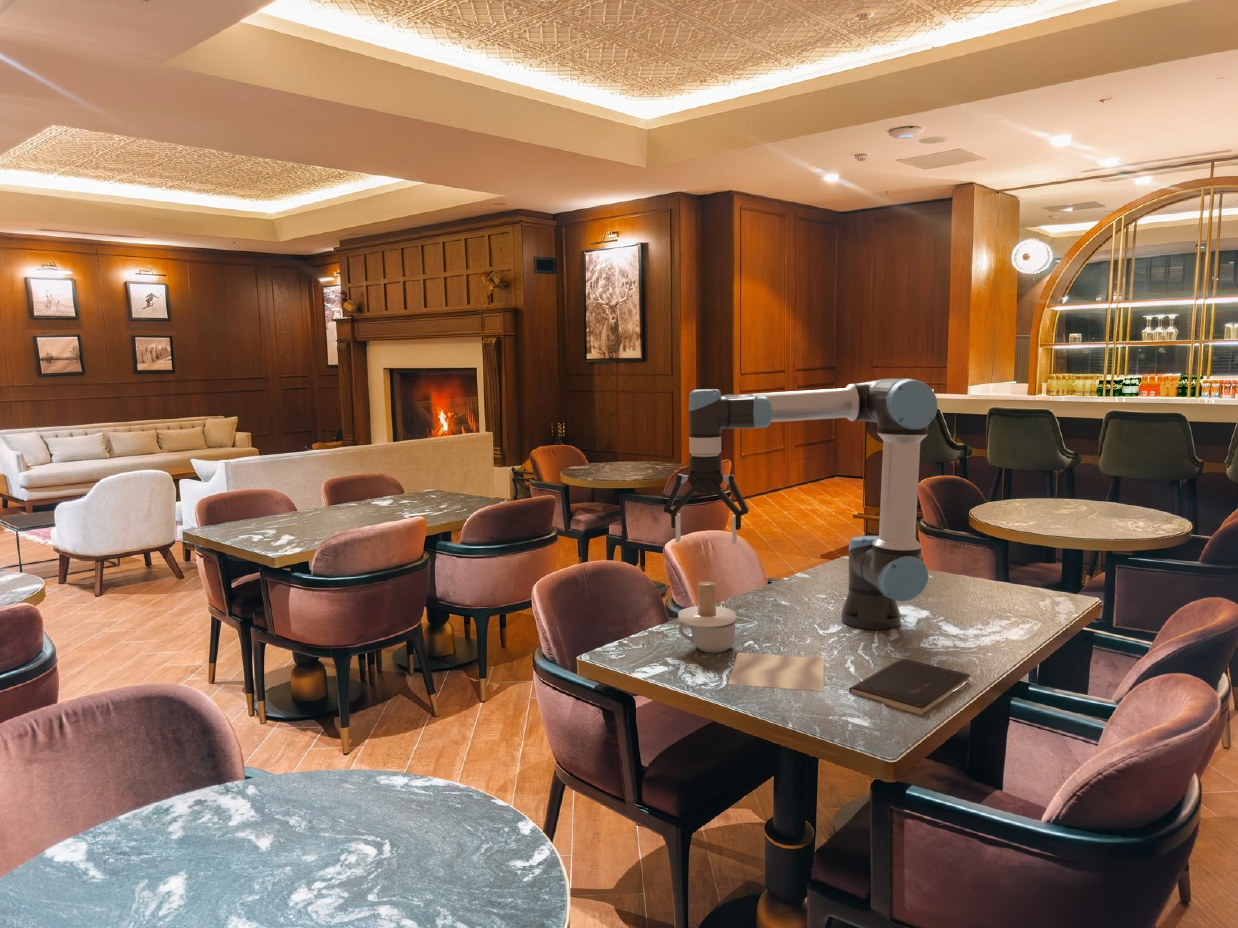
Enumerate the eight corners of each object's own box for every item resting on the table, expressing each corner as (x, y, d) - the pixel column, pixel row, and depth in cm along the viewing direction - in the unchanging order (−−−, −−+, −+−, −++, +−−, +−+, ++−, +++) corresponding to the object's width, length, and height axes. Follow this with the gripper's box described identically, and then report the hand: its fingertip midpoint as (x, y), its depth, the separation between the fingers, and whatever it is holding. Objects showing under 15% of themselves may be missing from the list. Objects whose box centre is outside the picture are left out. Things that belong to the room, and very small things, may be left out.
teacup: (734, 642, 206) (734, 611, 205) (737, 657, 195) (736, 625, 194) (678, 641, 207) (678, 610, 206) (678, 657, 196) (677, 624, 195)
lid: (738, 610, 205) (738, 577, 204) (733, 628, 192) (733, 592, 191) (682, 608, 208) (682, 575, 207) (674, 625, 195) (673, 590, 194)
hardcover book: (970, 684, 177) (970, 674, 177) (922, 718, 161) (922, 707, 161) (899, 666, 188) (900, 657, 188) (848, 696, 172) (848, 686, 172)
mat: (823, 659, 192) (823, 658, 192) (823, 692, 173) (823, 691, 173) (737, 654, 197) (737, 652, 197) (728, 685, 178) (728, 683, 178)
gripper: (759, 453, 196) (759, 540, 199) (656, 452, 202) (658, 537, 205) (757, 456, 189) (757, 547, 191) (650, 455, 195) (652, 543, 197)
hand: (706, 542), depth 198 cm, fingers open, 13 cm apart
